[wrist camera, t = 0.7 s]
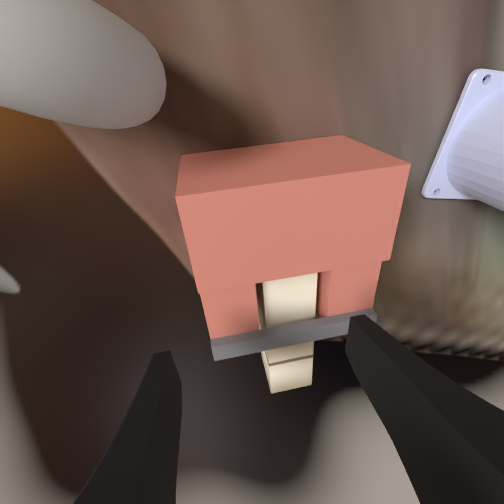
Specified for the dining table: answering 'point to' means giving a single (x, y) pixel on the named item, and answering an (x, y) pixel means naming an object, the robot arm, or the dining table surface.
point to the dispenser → (288, 233)
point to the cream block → (282, 313)
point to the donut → (77, 64)
